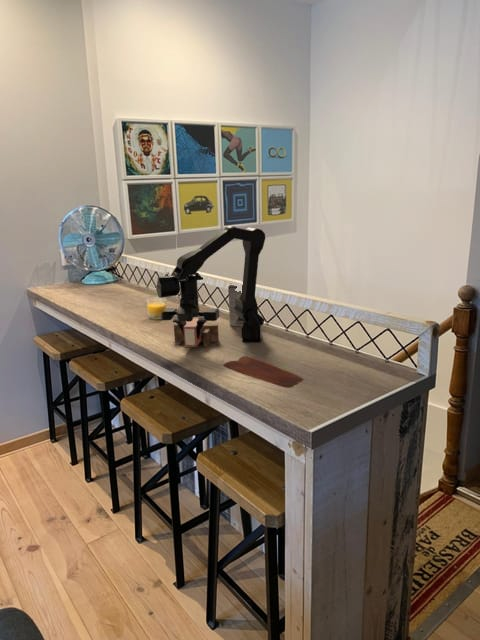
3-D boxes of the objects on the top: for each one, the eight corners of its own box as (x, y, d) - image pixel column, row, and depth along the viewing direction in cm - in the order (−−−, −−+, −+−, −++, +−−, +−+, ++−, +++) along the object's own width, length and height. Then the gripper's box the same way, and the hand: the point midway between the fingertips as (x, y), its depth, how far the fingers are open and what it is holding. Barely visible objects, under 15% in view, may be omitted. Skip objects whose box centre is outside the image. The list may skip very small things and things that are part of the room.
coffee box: (234, 319, 202) (232, 281, 198) (249, 320, 201) (248, 281, 196) (229, 326, 193) (227, 286, 189) (245, 326, 192) (244, 286, 188)
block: (203, 337, 174) (202, 318, 172) (196, 346, 165) (195, 327, 163) (192, 337, 175) (191, 318, 173) (184, 346, 166) (183, 326, 164)
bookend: (191, 340, 178) (190, 327, 176) (187, 345, 172) (186, 332, 171) (183, 340, 178) (182, 327, 177) (179, 345, 173) (178, 331, 172)
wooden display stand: (218, 340, 177) (218, 324, 175) (214, 346, 171) (214, 330, 169) (176, 339, 180) (174, 323, 178) (170, 345, 173) (169, 329, 172)
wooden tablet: (221, 367, 154) (221, 362, 153) (244, 358, 160) (244, 354, 160) (285, 391, 135) (285, 386, 135) (308, 380, 142) (308, 375, 141)
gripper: (154, 299, 157) (158, 345, 161) (211, 300, 154) (213, 347, 158) (165, 291, 167) (168, 335, 172) (218, 292, 164) (220, 336, 168)
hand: (192, 338), depth 167 cm, fingers closed on block, 4 cm apart
